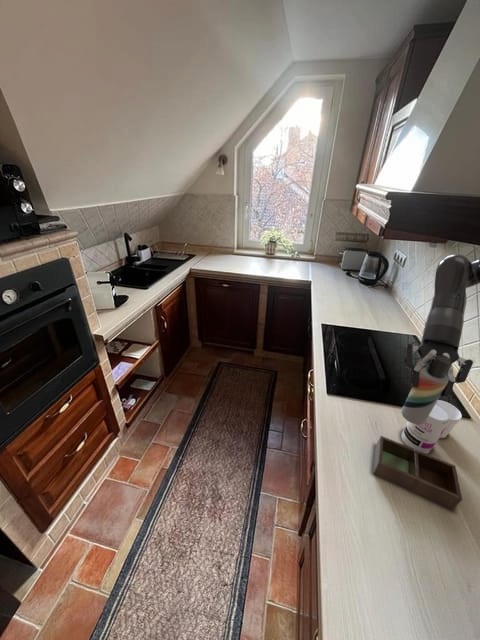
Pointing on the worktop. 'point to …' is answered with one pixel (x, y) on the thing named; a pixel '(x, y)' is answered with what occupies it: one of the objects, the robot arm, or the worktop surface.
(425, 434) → the supplement can
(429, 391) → the lotion bottle
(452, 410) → the white cup
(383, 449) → the caddy
